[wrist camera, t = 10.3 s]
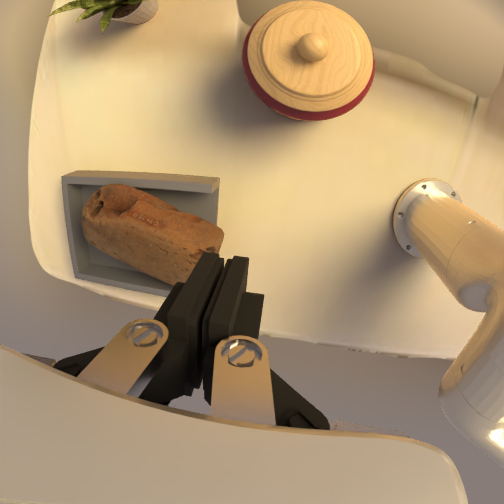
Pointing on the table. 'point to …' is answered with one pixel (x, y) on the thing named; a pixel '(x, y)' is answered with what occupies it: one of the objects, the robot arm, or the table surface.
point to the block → (147, 232)
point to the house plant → (114, 10)
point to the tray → (157, 184)
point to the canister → (308, 60)
